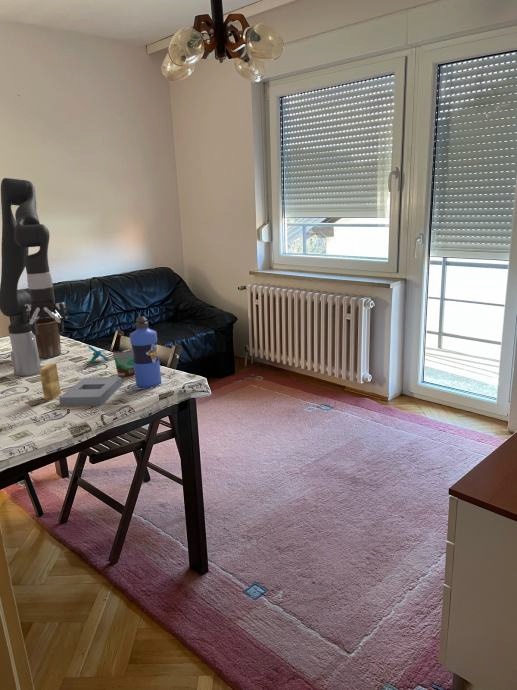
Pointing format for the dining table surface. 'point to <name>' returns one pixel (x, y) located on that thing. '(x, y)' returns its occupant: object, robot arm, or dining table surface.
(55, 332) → the plant pot
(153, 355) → the water bottle
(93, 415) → the dining table surface
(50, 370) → the keyed peg
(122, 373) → the food container
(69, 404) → the keyed plate
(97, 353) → the gear
